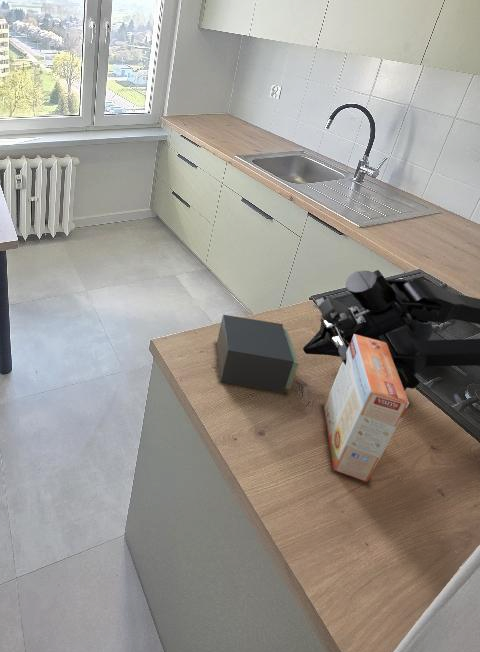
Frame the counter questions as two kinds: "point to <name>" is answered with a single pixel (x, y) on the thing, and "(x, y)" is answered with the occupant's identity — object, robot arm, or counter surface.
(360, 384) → the cracker box
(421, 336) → the mug
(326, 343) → the robot arm
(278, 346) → the cabinet
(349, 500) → the counter surface
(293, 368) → the drawer
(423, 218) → the counter surface
